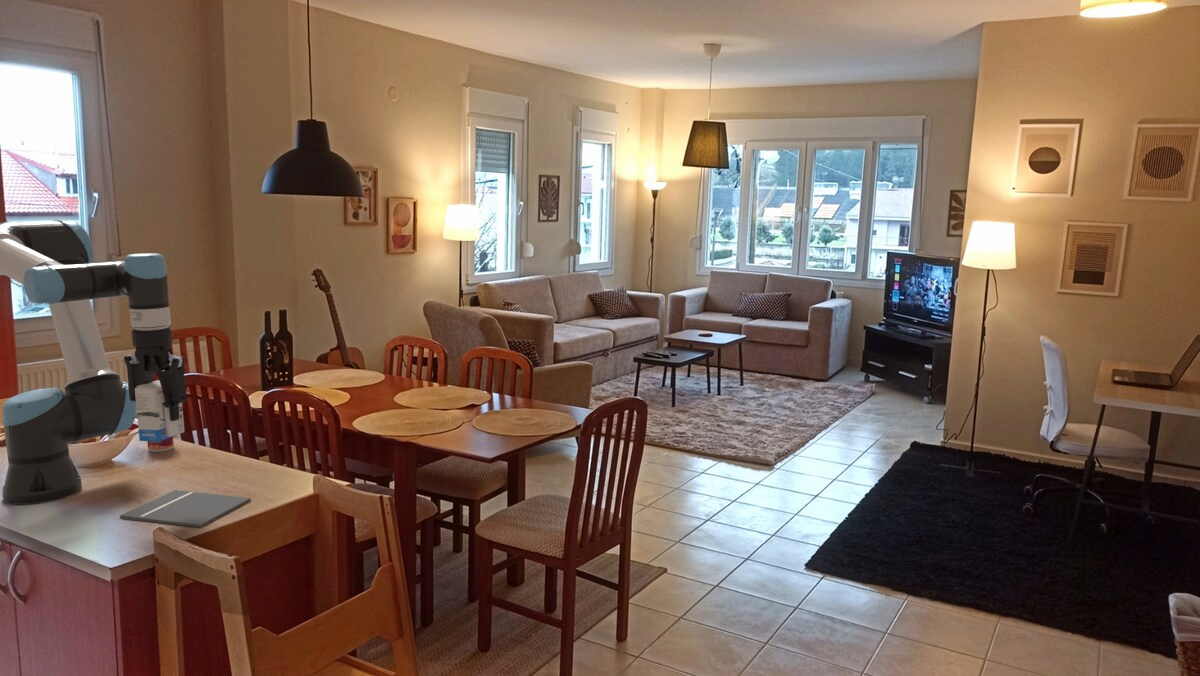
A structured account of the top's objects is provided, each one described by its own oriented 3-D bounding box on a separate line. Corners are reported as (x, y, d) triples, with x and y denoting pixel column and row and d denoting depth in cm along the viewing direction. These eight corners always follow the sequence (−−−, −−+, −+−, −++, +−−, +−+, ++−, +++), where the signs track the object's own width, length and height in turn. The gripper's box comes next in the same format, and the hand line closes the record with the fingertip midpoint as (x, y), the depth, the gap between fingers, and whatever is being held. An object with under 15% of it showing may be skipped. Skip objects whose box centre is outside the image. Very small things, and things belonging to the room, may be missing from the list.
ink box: (158, 442, 180) (153, 388, 178) (138, 441, 181) (133, 387, 179) (186, 431, 188) (181, 379, 186) (166, 430, 189) (161, 378, 187)
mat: (120, 518, 181) (119, 514, 180) (175, 492, 196) (175, 489, 196) (200, 527, 175) (200, 524, 175) (250, 500, 191) (250, 497, 191)
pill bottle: (146, 453, 225) (142, 413, 223) (149, 447, 230) (145, 407, 228) (173, 451, 227) (169, 410, 225) (175, 444, 233) (171, 405, 231)
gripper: (101, 328, 179) (112, 435, 183) (174, 331, 174) (184, 442, 178) (129, 323, 186) (139, 426, 190) (200, 326, 181) (209, 432, 185)
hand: (161, 433), depth 184 cm, fingers closed on ink box, 5 cm apart
